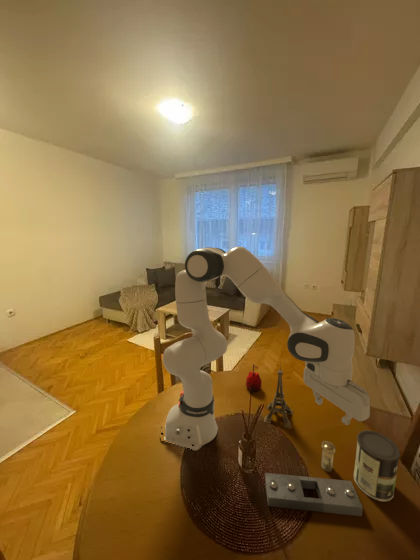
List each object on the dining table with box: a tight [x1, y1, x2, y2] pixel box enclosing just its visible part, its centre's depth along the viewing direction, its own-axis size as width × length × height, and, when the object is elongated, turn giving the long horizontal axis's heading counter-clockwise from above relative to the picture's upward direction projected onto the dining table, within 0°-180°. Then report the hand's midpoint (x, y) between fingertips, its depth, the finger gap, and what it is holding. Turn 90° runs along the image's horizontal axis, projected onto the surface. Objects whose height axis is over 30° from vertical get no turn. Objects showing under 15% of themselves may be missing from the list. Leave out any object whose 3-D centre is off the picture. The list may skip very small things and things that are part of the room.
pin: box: [320, 440, 336, 473], centre depth 77 cm, size 4×4×8 cm
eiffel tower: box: [263, 362, 293, 430], centre depth 97 cm, size 11×11×25 cm
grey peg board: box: [264, 472, 364, 517], centre depth 69 cm, size 25×7×4 cm, turn 83°
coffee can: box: [353, 429, 401, 502], centre depth 71 cm, size 10×10×14 cm
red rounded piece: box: [245, 363, 262, 392], centre depth 116 cm, size 8×7×15 cm
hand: (331, 412), depth 74 cm, fingers open, 8 cm apart
